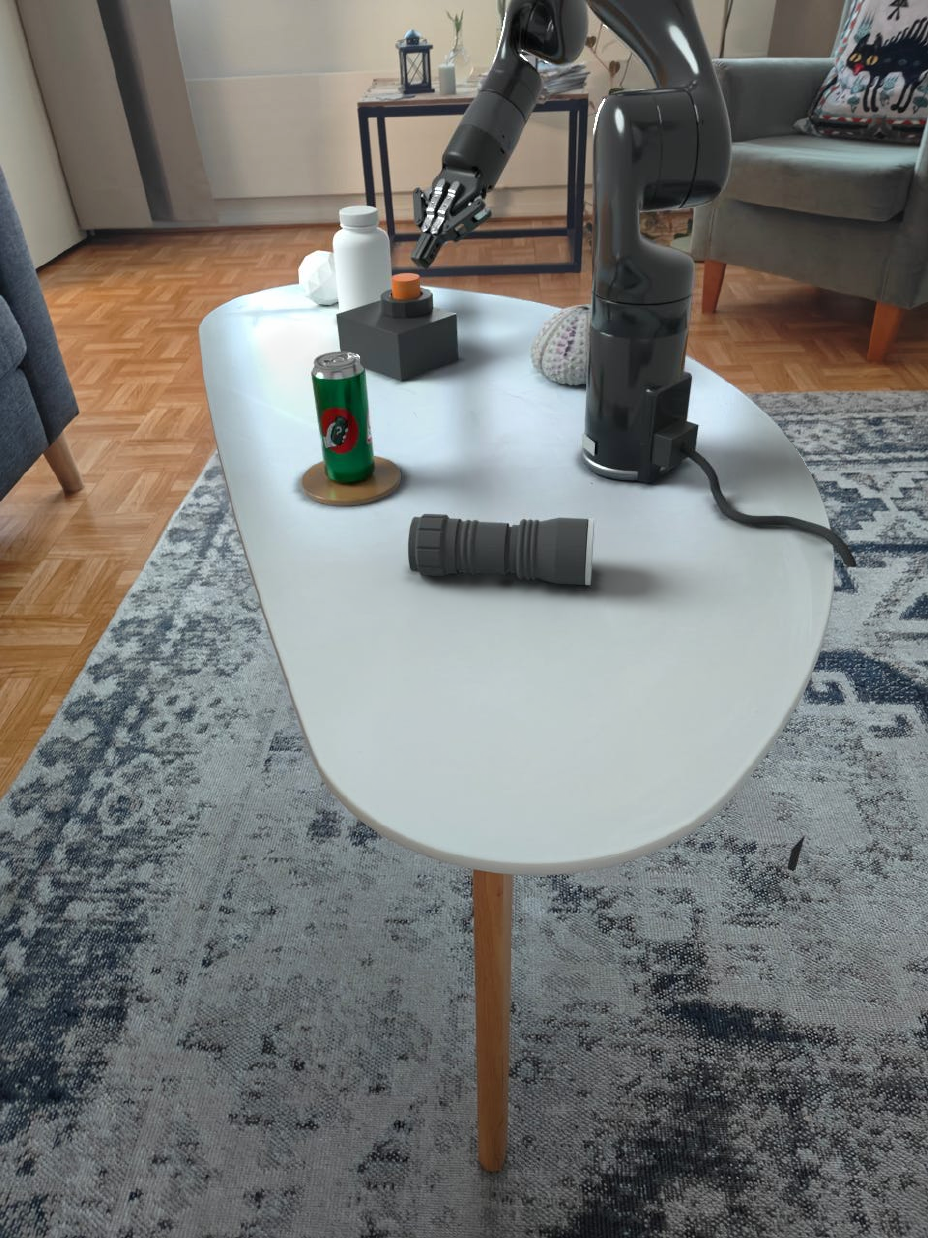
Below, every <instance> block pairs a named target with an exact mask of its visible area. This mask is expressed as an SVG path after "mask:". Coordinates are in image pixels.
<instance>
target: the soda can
mask: <svg viewBox="0 0 928 1238" xmlns="http://www.w3.org/2000/svg"><path fill="white" fill-rule="evenodd" d="M313 365H314V366H313V368H312V369H311V371H310V376H311V382H312V390H313V397H314V404H315V411H316V418H317V426H318V432H319V433H318V434H319V439H320V448H321V455H322V461H323V462H324V469H325V474H326V476H327V477H328V478H329V479H331V480H332V481H334V482H336V483H339V484H356V483H360V482H363V481H365V480H367V479H368V478H369V477H370V476H371V475H372V474H373V472H374V471H375V461H374V456H375V452H374V444H373V432H372V424H371V423H372V422H371V414H370V413H371V411H370V403H369V393H368V384H367V374H366V368H365V367H364V366H363V364H362V363H361V362H360V357H359V356H358V355H357V354H355V353H351V352H340V351H331V352H330V351H329V352H327V353H322V354H320V355H318V356H317V357H315V358H314V360H313Z"/></svg>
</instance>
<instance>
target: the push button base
mask: <svg viewBox="0 0 928 1238" xmlns="http://www.w3.org/2000/svg"><path fill="white" fill-rule="evenodd" d="M420 292H421V297H418V298H415V299H406V300H404V299H395V298H393V296H392V289H391V290H387V291H385V292H384V293H382V294H381V296H380V297H381V300H379V301H376V302H373V303H370V304H367V305H364V306H361V307H357V308H354V309H351V310H348V311H345V312H342V313H340V312H339V313H336V314H335V316H336V325H337V333H338V334H337V335H338V342H339V350H340V351H339V352H351V353H355V354H357V355H358V356H359V357H360V362H361V363H362V364H363V366H364V367H365V370H369V371H371V372H373V373H376V374H379V375H381V376H384V377H386V378H390V379H393V380H395V381H398V382H401V383H402V382H405V381H407V380H411V379H413V378H415V377H418V376H421V375H423V374H425V373H428V372H430V371H433V370H435V369H439V368H442V367H444V366H445V365H448V364H451V363H453V362H457V361H458V360H459V339H458V337H459V336H458V314H457V313H455V312H451V311H448V310H445V309H442V308H438V307H434V294H433V292H432V290H431V289H428V288H425V287H421V286H420Z"/></svg>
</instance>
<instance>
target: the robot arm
mask: <svg viewBox="0 0 928 1238" xmlns="http://www.w3.org/2000/svg"><path fill="white" fill-rule="evenodd" d="M588 8H589V9H590V10H591V12H592V13H593V15H594V16H595V17H597V19H598V20H599V21H600V22H601V23H602V24H603V26H605V28H606V29H607V30H608V31H609V32H610V33H611V34H612V35H613V36H614V37H615V38H616V39H617V40H618V41H619V42H620V43H621V44H622V45H623V46H624V47H625V48H626V49H627V50H628V51H629V52H630V53H631V54H632V55H633V56H634V57H635V58H636V59H637V60H638V61H639V63H640V64H641V65H642V66H643V68H644V69H645V70H646V72H647V74H648V75H649V78H650V79H651V81H652V83H653V85H654V88H640V89H639V88H638V89H626V90H618V91H614V92H612V93H610V94H608V95H607V96H606V97H605V98H604V99H603V101H602V103H601V104H600V106H599V108H598V112H597V114H596V117H595V123H594V128H593V137H592V152H591V153H592V155H591V156H592V157H591V159H592V161H591V167H592V168H591V172H592V176H591V177H592V183H591V185H592V187H591V188H592V216H591V219H592V224H591V292H590V304H591V310H590V328H589V347H588V367H587V385H586V387H585V388H586V389H585V407H584V408H585V409H584V428H583V429H584V430H583V432H584V433H582V436H581V437H582V439H581V441H582V442H581V447H582V451H581V461H582V463H583V465H584V466H585V467H586V468H587V469H588V470H590V471H591V472H593V473H595V474H596V475H598V476H601V477H605V478H609V479H613V480H620V481H638V482H641V483H643V484H649V483H651V482H654V480H656V479H658V478H660V477H661V476H662V475H665V474H667V473H668V472H669V471H671V470H673V469H675V468H676V467H678V466H680V465H682V464H683V461H685V460H686V459H688V458H689V459H690V460H691V461H693V462H694V464H696V465H697V466H698V467H699V468H700V469H701V470H702V471H703V473H704V474H705V476H706V477H707V479H708V482H709V486H710V492H711V494H712V497H713V499H714V500H715V502H716V504H717V506H718V508H719V509H720V511H721V513H722V514H723V515H724V516H725V517H727V518H728V519H731V520H733V521H735V522H737V523H741V524H743V525H750V526H786V527H790V528H794V529H798V530H801V531H805V532H808V533H811V534H814V535H816V536H819V537H821V538H823V539H825V540H826V541H827V542H829V544H831V546H833V548H834V549H835V550H836V551H837V553H838V555H839V556H840V558H841V560H842V562H843V564H844V565H845V566H847V567H849V568H857V567H858V564H857V561H856V559H855V557H854V555H853V553H852V551H851V550H850V548H849V547H848V545H847V543H846V542H845V541H844V540H843V538H841V537H840V536H839V535H838V534H837V533H836V532H835V531H833V530H831V528H828V527H826V526H824V525H822V524H818V523H814V522H811V521H809V520H808V521H807V520H804V519H801V518H798V517H793V516H788V515H751V514H746V513H743V512H741V511H738V510H736V509H734V508H733V507H731V505H730V504H729V503H728V501H727V499H726V498H725V495H724V494H723V492H722V489H721V485H720V479H719V476H718V474H717V472H716V470H715V468H714V467H713V466H712V465H711V463H709V461H708V460H707V459H706V457H704V456H703V455H702V454H700V453H699V452H698V451H696V448H697V442H698V434H699V426H700V425H699V424H698V423H695V422H691V421H688V415H689V408H690V407H689V406H690V401H691V400H690V399H691V392H692V391H691V390H692V383H693V375H692V373H690V372H688V371H685V368H686V367H685V366H686V357H687V349H688V341H689V332H690V331H689V330H690V323H691V314H692V306H693V296H694V289H695V281H696V263H695V260H694V259H693V257H692V256H691V255H689V254H688V253H686V252H685V251H683V250H681V249H678V248H676V247H673V246H670V245H666V244H663V243H659V242H656V241H654V240H652V239H650V238H648V237H646V236H645V235H644V234H642V233H641V223H640V221H641V220H640V213H649V212H662V211H675V210H685V209H692V208H699V207H703V206H706V205H709V204H711V203H712V202H714V201H716V200H717V199H718V198H719V197H720V196H721V195H722V193H723V192H724V190H725V188H726V187H727V184H728V181H729V177H730V173H731V168H732V159H733V142H732V141H733V139H732V130H731V123H730V118H729V111H728V108H727V104H726V100H725V96H724V93H723V90H722V87H721V84H720V81H719V78H718V75H717V72H716V69H715V66H714V63H713V60H712V57H711V54H710V51H709V48H708V45H707V41H706V39H705V36H704V33H703V30H702V27H701V24H700V20H699V18H698V14H697V11H696V7H695V2H694V0H509V2H508V5H507V8H506V11H505V17H504V20H503V26H502V31H501V36H500V40H499V43H498V47H497V50H496V53H495V57H494V60H493V62H492V65H491V67H490V69H489V71H488V73H487V75H486V77H485V79H484V81H483V83H482V85H481V87H480V88H479V90H478V92H477V94H476V96H475V97H474V98H473V100H472V102H471V103H470V104H469V106H468V107H467V108H466V110H465V112H464V114H463V116H462V117H461V119H460V121H459V123H458V124H457V127H456V129H455V131H454V133H453V135H452V137H451V138H450V140H449V142H448V144H447V146H446V148H445V150H444V151H443V153H442V155H441V170H440V172H439V174H437V176H435V177H434V178H433V180H432V183H431V186H429V187H427V188H425V189H424V190H422V188H420V187H416V188H414V189H413V191H412V204H413V205H412V206H413V223H414V225H415V226H416V227H417V228H418V230H419V231H420V232H421V234H420V235H419V238H418V240H417V242H416V244H415V245H414V247H413V249H412V251H411V255H410V256H411V257H410V260H411V262H413V264H414V265H415V266H416V267H417V268H419V269H420V268H421V269H424V270H428V269H429V268H430V266H431V265H433V263H434V262H435V259H436V258H437V256H438V254H439V252H440V250H441V249H442V247H443V246H445V245H446V244H447V243H448V242H450V241H452V242H453V243H458V242H460V241H461V240H462V239H464V238H465V237H466V236H468V235H469V234H471V233H472V232H473V231H475V230H476V229H477V228H478V227H480V226H482V224H484V223H486V222H487V221H488V220H489V219H490V218H491V217H492V215H493V212H492V210H491V209H490V207H489V206H488V205H487V203H486V201H485V200H486V198H487V196H488V194H489V193H490V192H491V193H492V191H493V190H494V189H495V186H496V185H497V183H498V181H499V180H500V177H501V176H502V174H503V172H504V170H505V168H506V166H507V165H508V163H509V161H510V159H511V157H512V156H513V153H514V151H515V149H516V147H517V145H518V143H519V141H520V139H521V136H522V134H523V130H524V129H525V126H526V125H527V122H528V120H529V119H530V116H532V113H533V111H534V109H535V108H536V106H537V104H538V102H539V101H540V99H541V96H542V93H543V89H544V80H543V78H542V75H541V74H540V72H539V71H538V70H537V68H536V67H535V66H534V65H533V64H532V63H530V61H529V60H527V58H525V57H524V56H523V55H522V53H525V54H528V55H530V56H532V57H534V58H537V59H538V60H540V61H543V62H545V63H547V64H549V65H551V66H554V67H558V68H566V67H568V66H571V64H573V63H575V62H576V61H577V60H578V58H579V57H580V56H581V54H582V53H583V51H584V48H585V46H586V43H587V39H588V34H589V22H590V21H589V20H590V19H589V18H590V17H589V10H588ZM805 838H806V834H803V836H802V837H801V838H800V840H798V842H797V843H796V844H795V845H794V846H793V848H792V849H791V851H790V854H789V858H788V862H787V866H786V868H787V867H788V869H789V870H792V871H794V870H795V869H796V870H797V866H798V862H799V858H800V854H801V851H802V848H803V844H804V840H805ZM796 870H795V871H796Z"/></svg>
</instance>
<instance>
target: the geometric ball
mask: <svg viewBox="0 0 928 1238" xmlns="http://www.w3.org/2000/svg"><path fill="white" fill-rule="evenodd" d="M298 284H299V286H300V288H301V290H302V292H303V295H304V297H305V298H307V299H309V301H312V302H313V303H315V304H317V305H325V306H332V305H334V304H336V303H337V302H338V303H339V301H338V291H337V281H336V271H335V261H334V252H333V251H325V250H318V249H317V250H316V251H313V252H312V253H309V254H308V255H306V256H305V257H304V259H303V261H302V262H301V264H300V265H299V267H298Z"/></svg>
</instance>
